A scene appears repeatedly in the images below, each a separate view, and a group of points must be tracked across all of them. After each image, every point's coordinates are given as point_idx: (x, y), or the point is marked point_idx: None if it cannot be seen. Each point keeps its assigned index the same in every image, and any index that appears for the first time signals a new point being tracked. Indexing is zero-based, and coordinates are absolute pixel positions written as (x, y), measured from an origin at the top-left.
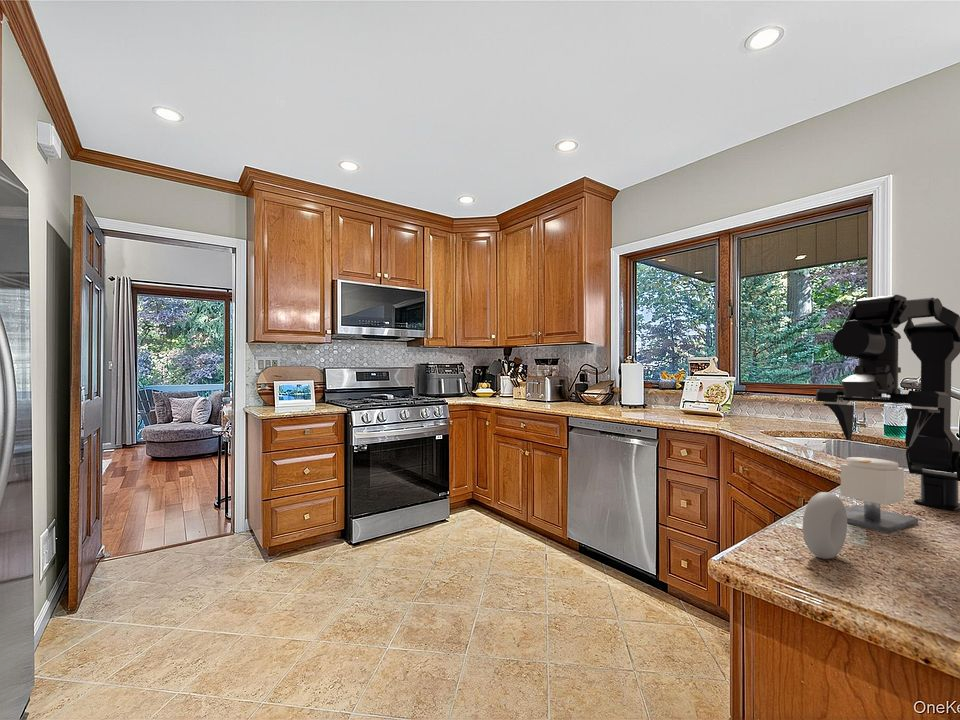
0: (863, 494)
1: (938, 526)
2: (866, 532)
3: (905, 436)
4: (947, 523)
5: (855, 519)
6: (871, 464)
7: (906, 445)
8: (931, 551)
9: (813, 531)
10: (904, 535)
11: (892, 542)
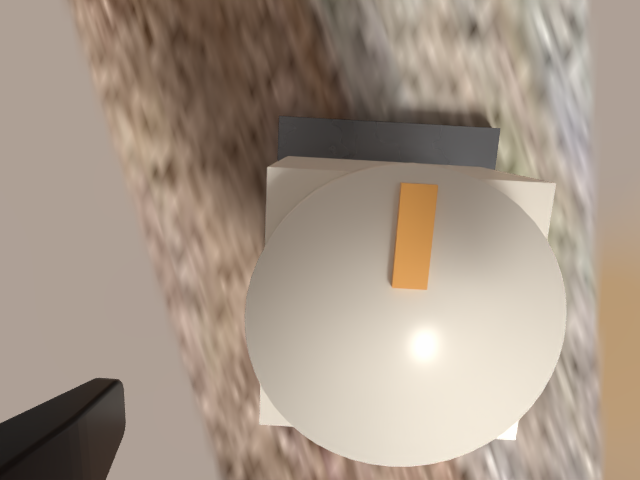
0: (383, 162)
1: (225, 387)
2: (329, 57)
3: (59, 430)
4: (223, 453)
5: (392, 128)
6: (355, 174)
7: (111, 380)
8: (125, 21)
9: None
10: (243, 151)
11: (231, 6)
